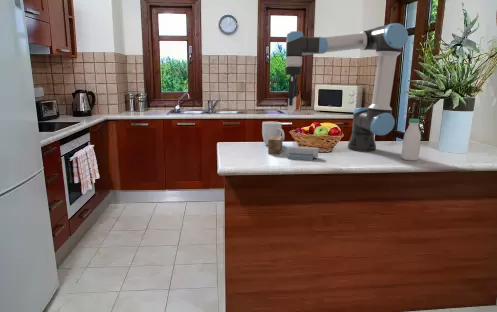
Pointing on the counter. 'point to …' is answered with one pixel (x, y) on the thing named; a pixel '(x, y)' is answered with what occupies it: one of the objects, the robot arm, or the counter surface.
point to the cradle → (300, 157)
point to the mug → (271, 130)
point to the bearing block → (275, 144)
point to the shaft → (302, 151)
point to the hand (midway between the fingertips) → (291, 111)
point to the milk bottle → (411, 141)
